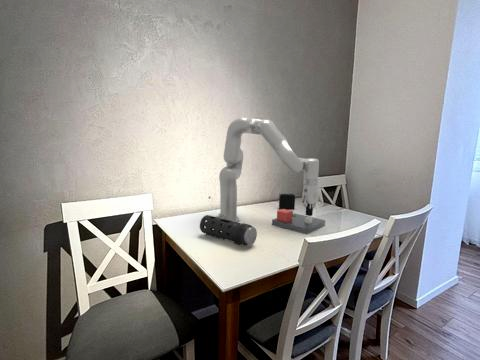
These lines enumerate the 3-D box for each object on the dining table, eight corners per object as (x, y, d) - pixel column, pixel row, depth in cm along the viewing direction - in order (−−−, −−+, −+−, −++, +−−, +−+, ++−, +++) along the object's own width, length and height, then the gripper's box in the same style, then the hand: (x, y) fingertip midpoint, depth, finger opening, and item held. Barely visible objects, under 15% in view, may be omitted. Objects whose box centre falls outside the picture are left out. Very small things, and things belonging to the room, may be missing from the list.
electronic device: (294, 209, 195) (295, 195, 193) (279, 209, 195) (280, 194, 193) (293, 208, 199) (294, 193, 197) (278, 207, 199) (279, 193, 197)
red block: (286, 222, 158) (286, 213, 157) (276, 219, 162) (277, 210, 161) (292, 219, 163) (292, 210, 162) (283, 217, 167) (283, 208, 166)
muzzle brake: (212, 232, 150) (212, 212, 148) (257, 245, 134) (258, 223, 132) (199, 237, 143) (199, 216, 141) (245, 251, 126) (245, 228, 124)
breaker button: (309, 226, 156) (309, 218, 156) (304, 224, 158) (304, 217, 158) (312, 224, 159) (312, 217, 158) (307, 223, 161) (307, 216, 160)
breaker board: (307, 234, 148) (307, 226, 147) (271, 224, 163) (272, 217, 162) (325, 225, 163) (325, 218, 162) (291, 217, 177) (291, 210, 177)
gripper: (310, 184, 147) (308, 219, 150) (323, 181, 158) (321, 213, 161) (297, 182, 152) (295, 216, 155) (311, 179, 163) (309, 211, 166)
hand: (309, 215), depth 158 cm, fingers closed
